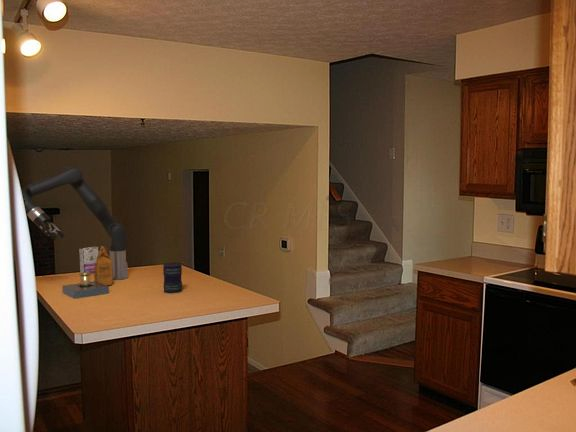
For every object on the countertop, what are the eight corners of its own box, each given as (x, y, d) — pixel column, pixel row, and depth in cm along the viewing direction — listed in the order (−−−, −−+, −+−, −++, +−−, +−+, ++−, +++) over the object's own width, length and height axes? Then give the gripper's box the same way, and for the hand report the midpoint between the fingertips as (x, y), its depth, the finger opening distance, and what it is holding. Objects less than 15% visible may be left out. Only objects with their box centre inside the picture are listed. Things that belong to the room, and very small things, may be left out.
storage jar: (177, 293, 282) (177, 266, 280) (160, 293, 284) (159, 265, 282) (185, 289, 291) (184, 262, 290) (168, 289, 293) (167, 262, 292)
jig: (95, 288, 296) (95, 281, 296) (109, 293, 282) (108, 286, 282) (62, 292, 284) (62, 285, 284) (74, 298, 271) (74, 291, 270)
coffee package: (111, 282, 313) (110, 245, 311) (114, 286, 301) (112, 247, 300) (93, 283, 309) (92, 245, 307) (95, 287, 297) (94, 248, 296)
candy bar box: (95, 271, 348) (94, 246, 346) (99, 272, 345) (99, 247, 343) (79, 273, 339) (78, 248, 338) (84, 274, 336) (83, 248, 334)
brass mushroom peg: (88, 289, 287) (88, 271, 286) (92, 291, 283) (92, 272, 282) (78, 291, 283) (77, 272, 283) (82, 293, 279) (81, 274, 278)
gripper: (36, 213, 281) (58, 234, 281) (50, 211, 295) (70, 232, 295) (27, 223, 281) (48, 244, 282) (41, 220, 296) (61, 241, 296)
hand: (60, 238), depth 288 cm, fingers open, 8 cm apart
